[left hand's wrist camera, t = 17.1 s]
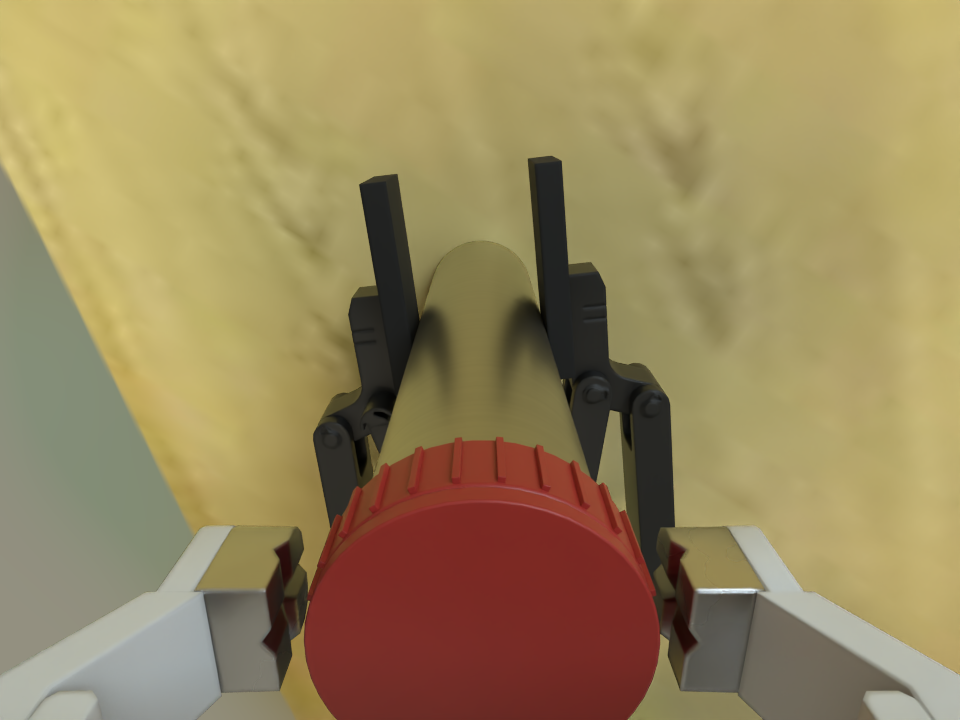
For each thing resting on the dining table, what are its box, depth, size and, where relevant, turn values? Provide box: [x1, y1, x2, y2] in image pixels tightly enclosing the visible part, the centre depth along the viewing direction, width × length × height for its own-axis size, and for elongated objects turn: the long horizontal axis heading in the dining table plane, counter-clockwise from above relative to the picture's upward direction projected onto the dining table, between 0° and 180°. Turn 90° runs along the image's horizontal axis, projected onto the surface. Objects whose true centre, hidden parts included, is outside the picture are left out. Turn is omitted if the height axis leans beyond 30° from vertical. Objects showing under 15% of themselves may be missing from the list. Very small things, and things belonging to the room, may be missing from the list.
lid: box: [304, 437, 660, 720], centre depth 9 cm, size 5×5×2 cm
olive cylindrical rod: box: [372, 241, 591, 479], centre depth 18 cm, size 4×4×19 cm
